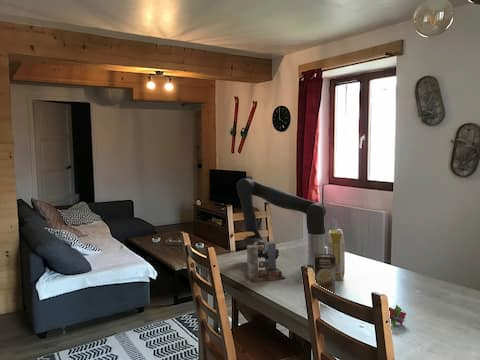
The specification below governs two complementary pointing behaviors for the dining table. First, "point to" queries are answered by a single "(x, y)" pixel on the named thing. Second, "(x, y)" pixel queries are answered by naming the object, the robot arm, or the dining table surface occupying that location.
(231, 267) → the dining table surface
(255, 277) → the hinge jig
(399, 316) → the geometric puzzle
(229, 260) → the dining table surface
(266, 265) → the grey clamp fixture
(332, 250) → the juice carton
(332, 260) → the coffee box
